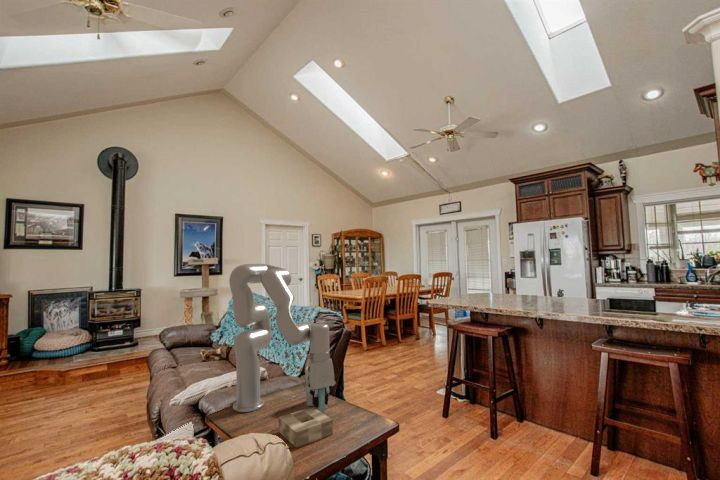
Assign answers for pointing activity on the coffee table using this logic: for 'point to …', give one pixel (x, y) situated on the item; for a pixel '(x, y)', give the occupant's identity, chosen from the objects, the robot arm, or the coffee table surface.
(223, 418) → the coffee table surface
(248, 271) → the robot arm
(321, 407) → the peg
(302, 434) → the socket block
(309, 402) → the skincare box
